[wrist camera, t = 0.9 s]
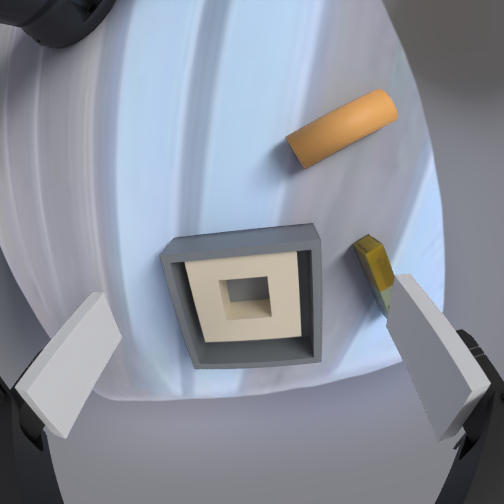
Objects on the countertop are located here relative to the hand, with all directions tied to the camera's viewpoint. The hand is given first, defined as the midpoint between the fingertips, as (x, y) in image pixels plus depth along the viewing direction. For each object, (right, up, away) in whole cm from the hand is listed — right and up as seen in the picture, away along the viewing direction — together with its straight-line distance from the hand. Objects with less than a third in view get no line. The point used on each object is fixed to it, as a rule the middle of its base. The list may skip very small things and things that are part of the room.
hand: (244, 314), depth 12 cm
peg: (+5, +13, +17) cm, 22 cm away
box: (0, -3, +25) cm, 26 cm away
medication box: (+17, 0, +24) cm, 29 cm away
